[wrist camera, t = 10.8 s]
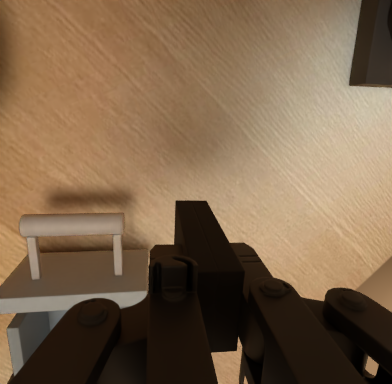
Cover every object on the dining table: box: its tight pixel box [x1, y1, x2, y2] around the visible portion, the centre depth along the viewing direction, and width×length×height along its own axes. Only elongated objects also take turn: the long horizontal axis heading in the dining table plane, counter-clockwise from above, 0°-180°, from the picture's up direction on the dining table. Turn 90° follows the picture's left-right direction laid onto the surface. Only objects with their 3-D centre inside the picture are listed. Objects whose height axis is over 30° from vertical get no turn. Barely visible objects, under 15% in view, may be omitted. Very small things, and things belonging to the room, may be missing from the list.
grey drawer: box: [0, 213, 148, 376], centre depth 25 cm, size 18×10×7 cm, turn 178°
